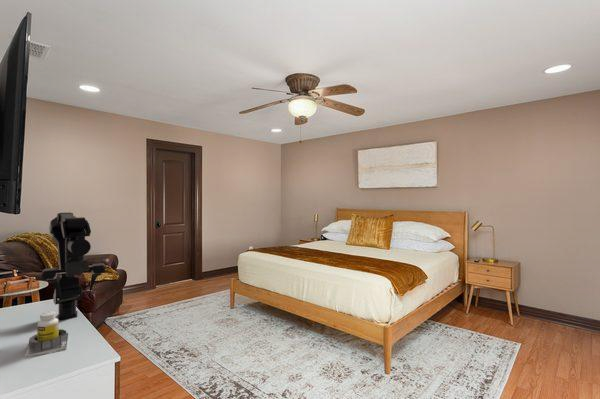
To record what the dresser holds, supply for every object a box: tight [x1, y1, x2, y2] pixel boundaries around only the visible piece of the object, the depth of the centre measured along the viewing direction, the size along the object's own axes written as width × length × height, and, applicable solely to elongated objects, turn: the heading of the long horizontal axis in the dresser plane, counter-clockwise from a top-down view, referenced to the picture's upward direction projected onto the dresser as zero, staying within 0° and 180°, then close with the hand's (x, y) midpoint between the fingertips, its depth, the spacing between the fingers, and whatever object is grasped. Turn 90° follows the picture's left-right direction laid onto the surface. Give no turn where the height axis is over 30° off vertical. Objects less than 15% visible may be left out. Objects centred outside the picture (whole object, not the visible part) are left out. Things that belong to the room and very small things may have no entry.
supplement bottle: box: [36, 310, 60, 341], centre depth 104 cm, size 5×5×10 cm
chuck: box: [24, 329, 69, 359], centre depth 104 cm, size 12×10×3 cm
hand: (75, 294), depth 117 cm, fingers open, 9 cm apart
